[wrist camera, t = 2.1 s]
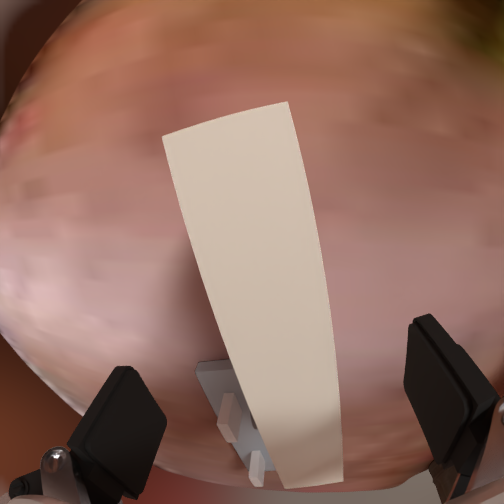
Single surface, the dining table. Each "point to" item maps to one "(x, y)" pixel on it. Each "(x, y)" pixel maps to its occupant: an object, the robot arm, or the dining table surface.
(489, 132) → the dining table surface
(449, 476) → the beer stein
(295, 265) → the cabinet door
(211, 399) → the hinge plate
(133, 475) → the robot arm
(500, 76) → the dining table surface
